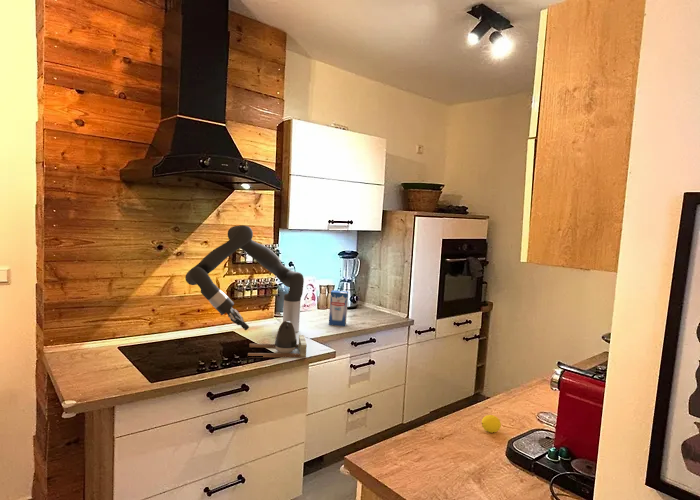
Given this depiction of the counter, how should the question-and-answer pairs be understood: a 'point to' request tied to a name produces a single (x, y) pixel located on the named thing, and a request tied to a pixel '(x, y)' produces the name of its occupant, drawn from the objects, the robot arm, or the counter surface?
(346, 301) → the milk carton
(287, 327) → the dark grey rounded cone
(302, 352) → the track
